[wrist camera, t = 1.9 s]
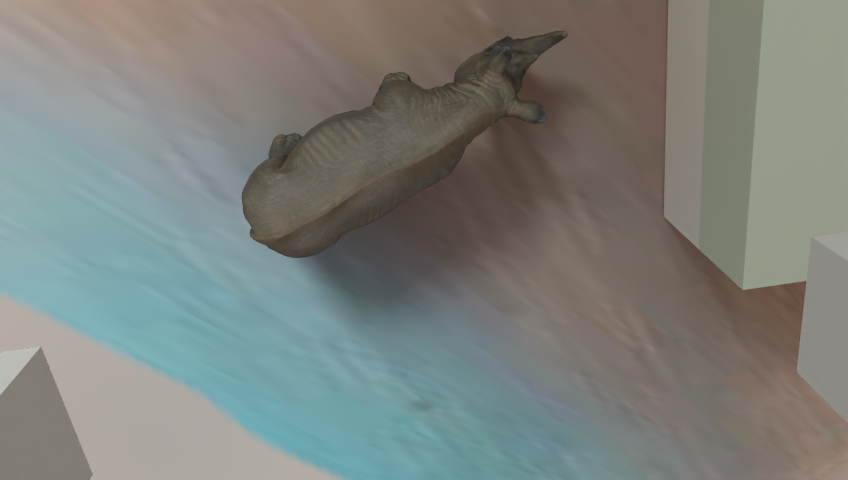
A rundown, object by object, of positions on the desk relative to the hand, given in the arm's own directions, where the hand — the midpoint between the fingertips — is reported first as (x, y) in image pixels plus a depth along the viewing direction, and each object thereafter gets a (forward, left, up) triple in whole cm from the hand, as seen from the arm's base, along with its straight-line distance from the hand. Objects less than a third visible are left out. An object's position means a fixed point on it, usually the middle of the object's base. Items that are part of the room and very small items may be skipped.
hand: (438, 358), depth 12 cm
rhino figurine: (0, 0, -18) cm, 18 cm away
